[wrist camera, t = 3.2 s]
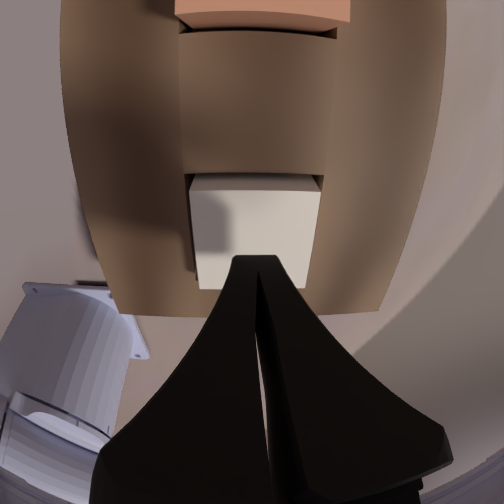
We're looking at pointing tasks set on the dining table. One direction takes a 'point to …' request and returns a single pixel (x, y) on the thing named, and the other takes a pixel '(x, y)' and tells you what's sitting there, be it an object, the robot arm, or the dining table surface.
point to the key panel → (249, 138)
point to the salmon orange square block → (264, 14)
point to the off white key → (253, 221)
